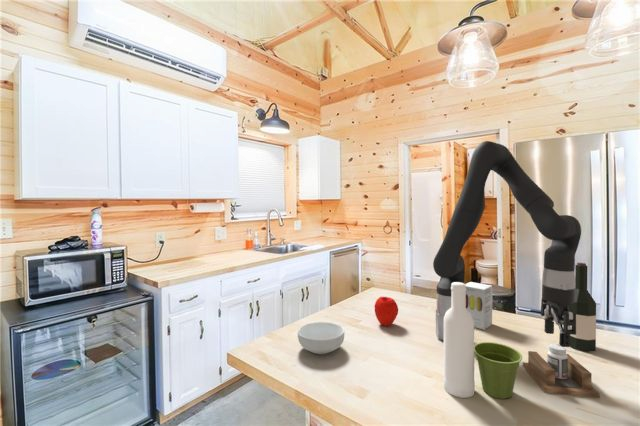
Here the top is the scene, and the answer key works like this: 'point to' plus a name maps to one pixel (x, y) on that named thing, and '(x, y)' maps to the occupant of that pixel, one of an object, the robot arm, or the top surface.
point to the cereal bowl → (321, 337)
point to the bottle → (458, 345)
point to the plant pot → (497, 368)
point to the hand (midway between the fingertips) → (556, 339)
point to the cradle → (572, 385)
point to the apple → (386, 310)
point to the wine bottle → (583, 313)
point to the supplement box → (479, 304)
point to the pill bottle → (558, 360)
